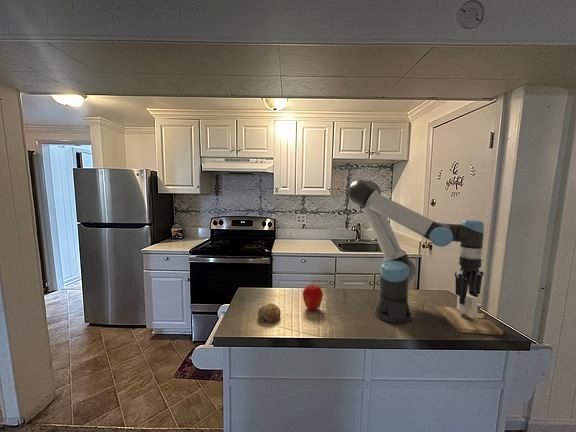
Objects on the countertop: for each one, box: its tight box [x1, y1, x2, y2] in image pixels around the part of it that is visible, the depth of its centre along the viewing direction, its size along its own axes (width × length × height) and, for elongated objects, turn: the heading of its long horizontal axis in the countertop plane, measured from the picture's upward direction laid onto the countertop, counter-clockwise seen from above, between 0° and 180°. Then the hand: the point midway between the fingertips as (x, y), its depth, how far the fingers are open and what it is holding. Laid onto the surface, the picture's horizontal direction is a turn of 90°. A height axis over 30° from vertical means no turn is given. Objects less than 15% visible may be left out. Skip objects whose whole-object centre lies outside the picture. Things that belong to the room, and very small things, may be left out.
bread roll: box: [257, 303, 281, 324], centre depth 111 cm, size 10×10×8 cm
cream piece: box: [456, 292, 485, 320], centre depth 109 cm, size 10×9×10 cm
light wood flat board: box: [435, 305, 504, 336], centre depth 110 cm, size 16×20×2 cm
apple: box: [302, 284, 324, 312], centre depth 119 cm, size 9×9×12 cm
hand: (466, 310), depth 109 cm, fingers closed on cream piece, 3 cm apart
